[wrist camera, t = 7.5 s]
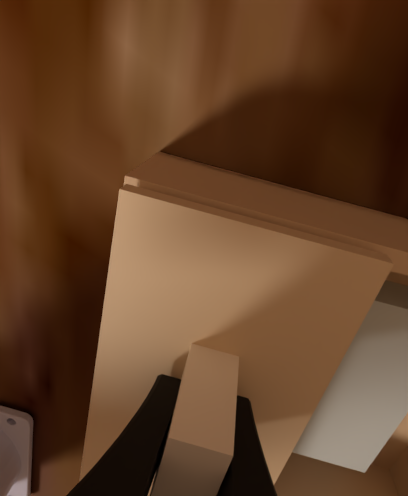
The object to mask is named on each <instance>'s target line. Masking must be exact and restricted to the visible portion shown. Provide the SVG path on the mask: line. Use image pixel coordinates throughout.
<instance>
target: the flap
mask: <svg viewBox="0 0 408 496" xmlns="http://www.w3.org/2000/svg"><path fill="white" fill-rule="evenodd" d="M393 265H394V263H393V262H392V261H391V259H390V258H389V257H388V255H386V254H382V253H378V252H375V251H371V250H367V249H364V248H360V247H356V246H353V245H349V244H345V243H342V242H338V241H334V240H331V239H327V238H323V237H320V236H316V235H312V234H309V233H305V232H301V231H298V230H294V229H290V228H287V227H283V226H279V225H276V224H272V223H268V222H265V221H261V220H257V219H254V218H250V217H246V216H243V215H239V214H235V213H232V212H228V211H224V210H221V209H217V208H214V207H210V206H206V205H203V204H199V203H195V202H192V201H188V200H184V199H181V198H177V197H173V196H170V195H166V194H162V193H159V192H155V191H151V190H148V189H144V188H140V187H137V186H133V185H129V184H125V185H124V186H123V187H122V188H120V189H119V197H118V204H117V211H116V218H115V226H114V233H113V240H112V247H111V255H110V262H109V269H108V276H107V284H106V291H105V298H104V305H103V313H102V320H101V327H100V334H99V342H98V349H97V356H96V363H95V371H94V378H93V385H92V392H91V400H90V407H89V414H88V421H87V429H86V436H85V443H84V450H83V458H82V465H81V472H80V479H79V482H80V481H81V480H82V479H83V478H84V476H85V475H86V474H87V473H88V472H89V471H90V470H91V469H92V468H93V466H94V465H95V464H96V463H97V462H98V461H99V459H100V458H101V457H102V456H103V455H104V453H105V452H106V451H107V450H108V449H109V447H110V446H111V445H112V444H113V443H114V441H115V440H116V439H117V438H118V436H119V435H120V434H121V433H122V431H123V430H124V429H125V427H126V426H127V424H128V423H129V422H130V420H131V419H132V418H133V416H134V415H135V414H136V412H137V411H138V409H139V408H140V406H141V405H142V403H143V402H144V400H145V398H146V397H147V395H148V394H149V392H150V390H151V388H152V386H153V385H154V383H155V380H156V378H157V376H158V375H161V374H164V375H168V376H171V377H175V378H178V379H181V384H180V388H179V392H178V396H177V400H176V405H175V408H174V412H173V415H172V418H171V422H170V425H169V429H168V432H167V436H166V439H165V443H164V446H163V450H162V453H161V456H160V460H159V463H158V467H157V470H156V473H155V476H154V478H153V481H152V484H151V487H150V490H149V493H148V496H216V495H217V493H218V490H219V488H220V486H221V483H222V481H223V479H224V476H225V474H226V472H227V469H228V467H229V465H230V463H231V460H232V458H233V453H234V436H235V419H236V402H237V395H239V396H242V397H246V398H248V399H249V400H250V402H251V406H252V411H253V416H254V420H255V424H256V428H257V432H258V436H259V439H260V443H261V446H262V450H263V453H264V457H265V460H266V463H267V466H268V469H269V472H270V475H271V478H272V481H273V484H275V482H276V481H277V479H278V477H279V475H280V473H281V471H282V470H283V468H284V466H285V464H286V462H287V460H288V459H289V457H290V455H291V453H292V451H293V449H294V447H295V446H296V444H297V442H298V440H299V438H300V436H301V435H302V433H303V431H304V429H305V427H306V425H307V424H308V422H309V420H310V418H311V416H312V414H313V412H314V411H315V409H316V407H317V405H318V403H319V401H320V400H321V398H322V396H323V394H324V392H325V390H326V389H327V387H328V385H329V383H330V381H331V379H332V377H333V376H334V374H335V372H336V370H337V368H338V366H339V365H340V363H341V361H342V359H343V357H344V355H345V354H346V352H347V350H348V348H349V346H350V344H351V342H352V341H353V339H354V337H355V335H356V333H357V331H358V330H359V328H360V326H361V324H362V322H363V320H364V319H365V317H366V315H367V313H368V311H369V309H370V307H371V306H372V304H373V302H374V300H375V298H376V296H377V295H378V293H379V291H380V289H381V287H382V285H383V284H384V282H385V280H386V278H387V276H388V274H389V273H390V271H391V269H392V267H393Z"/></svg>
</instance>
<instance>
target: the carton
mask: <svg viewBox="0 0 408 496" xmlns="http://www.w3.org/2000/svg"><path fill="white" fill-rule="evenodd" d="M125 184H129V185H133V186H137V187H140V188H144V189H148V190H151V191H155V192H159V193H162V194H166V195H170V196H173V197H177V198H181V199H184V200H188V201H192V202H195V203H199V204H203V205H206V206H210V207H214V208H217V209H221V210H224V211H228V212H232V213H235V214H239V215H243V216H246V217H250V218H254V219H257V220H261V221H265V222H268V223H272V224H276V225H279V226H283V227H287V228H290V229H294V230H298V231H301V232H305V233H309V234H312V235H316V236H320V237H323V238H327V239H331V240H334V241H338V242H342V243H345V244H349V245H353V246H356V247H360V248H364V249H367V250H371V251H375V252H378V253H382V254H386V255H388V257H389V258H390V259H391V261H392V262H393V263H394V265H393V267H392V269H391V271H390V273H389V274H388V276H387V278H386V280H385V282H384V284H383V285H382V287H381V289H380V291H379V293H378V295H377V296H376V298H375V300H374V302H373V304H372V306H371V307H370V309H369V311H368V313H367V315H366V317H365V319H364V320H363V322H362V324H361V326H360V328H359V330H358V331H357V333H356V335H355V337H354V339H353V341H352V342H351V344H350V346H349V348H348V350H347V352H346V354H345V355H344V357H343V359H342V361H341V363H340V365H339V366H338V368H337V370H336V372H335V374H334V376H333V377H332V379H331V381H330V383H329V385H328V387H327V389H326V390H325V392H324V394H323V396H322V398H321V400H320V401H319V403H318V405H317V407H316V409H315V411H314V412H313V414H312V416H311V418H310V420H309V422H308V424H307V425H306V427H305V429H304V431H303V433H302V435H301V436H300V438H299V440H298V442H297V444H296V446H295V447H294V449H293V451H292V453H291V455H290V457H289V459H288V460H287V462H286V464H285V466H284V468H283V470H282V471H281V473H280V475H279V477H278V479H277V481H276V482H275V484H274V487H275V490H276V493H277V496H408V219H406V218H403V217H399V216H395V215H392V214H388V213H384V212H380V211H377V210H373V209H369V208H366V207H362V206H358V205H355V204H351V203H347V202H344V201H340V200H336V199H333V198H329V197H325V196H321V195H318V194H314V193H310V192H307V191H303V190H299V189H296V188H292V187H288V186H285V185H281V184H277V183H273V182H270V181H266V180H262V179H259V178H255V177H251V176H248V175H244V174H240V173H237V172H233V171H229V170H226V169H222V168H218V167H214V166H211V165H207V164H203V163H200V162H196V161H192V160H189V159H185V158H181V157H178V156H174V155H170V154H166V153H163V152H158V153H156V154H155V155H153V156H152V157H151V158H149V159H148V160H146V161H145V162H144V163H142V164H141V165H139V166H138V167H136V168H135V169H134V170H132V171H131V172H129V173H128V174H127V175H125V180H124V185H125Z"/></svg>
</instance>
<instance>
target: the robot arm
mask: <svg viewBox="0 0 408 496" xmlns="http://www.w3.org/2000/svg"><path fill="white" fill-rule="evenodd" d="M180 384H181V379H178V378H175V377H171V376H168V375H164V374H161V375H158V376H157V378H156V380H155V383H154V385H153V386H152V388H151V390H150V392H149V394H148V395H147V397H146V398H145V400H144V402H143V403H142V405H141V406H140V408H139V409H138V411H137V412H136V414H135V415H134V416H133V418H132V419H131V420H130V422H129V423H128V424H127V426H126V427H125V429H124V430H123V431H122V433H121V434H120V435H119V436H118V438H117V439H116V440H115V441H114V443H113V444H112V445H111V446H110V447H109V449H108V450H107V451H106V452H105V453H104V455H103V456H102V457H101V458H100V459H99V461H98V462H97V463H96V464H95V465H94V466H93V468H92V469H91V470H90V471H89V472H88V473H87V474H86V475H85V476H84V478H83V479H82V480H81V481H80V482H79V483H78V484H77V485H76V486H75V487H74V488H73V489H72V490H71V491H70V492H69V494H68V495H67V496H148V493H149V490H150V487H151V484H152V481H153V478H154V476H155V473H156V470H157V467H158V463H159V460H160V456H161V453H162V450H163V446H164V443H165V439H166V436H167V432H168V429H169V425H170V422H171V418H172V415H173V412H174V408H175V405H176V400H177V396H178V392H179V388H180ZM32 443H33V418H32V417H31V416H30V415H29V414H28V413H25V412H22V411H18V410H15V409H11V408H8V407H4V406H1V405H0V496H30V494H31V469H32ZM216 496H277V493H276V490H275V487H274V484H273V481H272V478H271V475H270V472H269V469H268V466H267V463H266V460H265V457H264V453H263V450H262V446H261V443H260V439H259V436H258V432H257V428H256V424H255V420H254V416H253V411H252V406H251V402H250V400H249V399H248V398H246V397H242V396H239V395H237V402H236V419H235V436H234V453H233V458H232V460H231V463H230V465H229V467H228V469H227V472H226V474H225V476H224V479H223V481H222V483H221V486H220V488H219V490H218V493H217V495H216Z"/></svg>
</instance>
